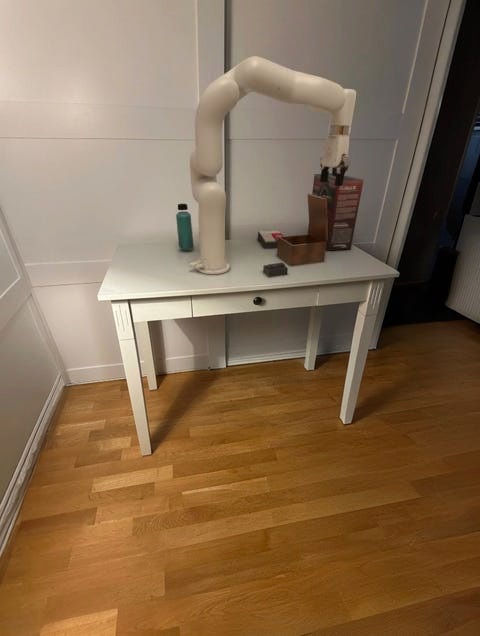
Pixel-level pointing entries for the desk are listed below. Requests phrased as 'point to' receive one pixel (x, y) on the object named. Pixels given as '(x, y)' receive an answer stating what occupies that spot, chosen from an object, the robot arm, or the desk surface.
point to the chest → (301, 249)
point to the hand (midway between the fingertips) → (330, 183)
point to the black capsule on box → (275, 269)
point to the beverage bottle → (184, 228)
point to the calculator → (269, 238)
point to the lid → (318, 215)
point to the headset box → (339, 208)
